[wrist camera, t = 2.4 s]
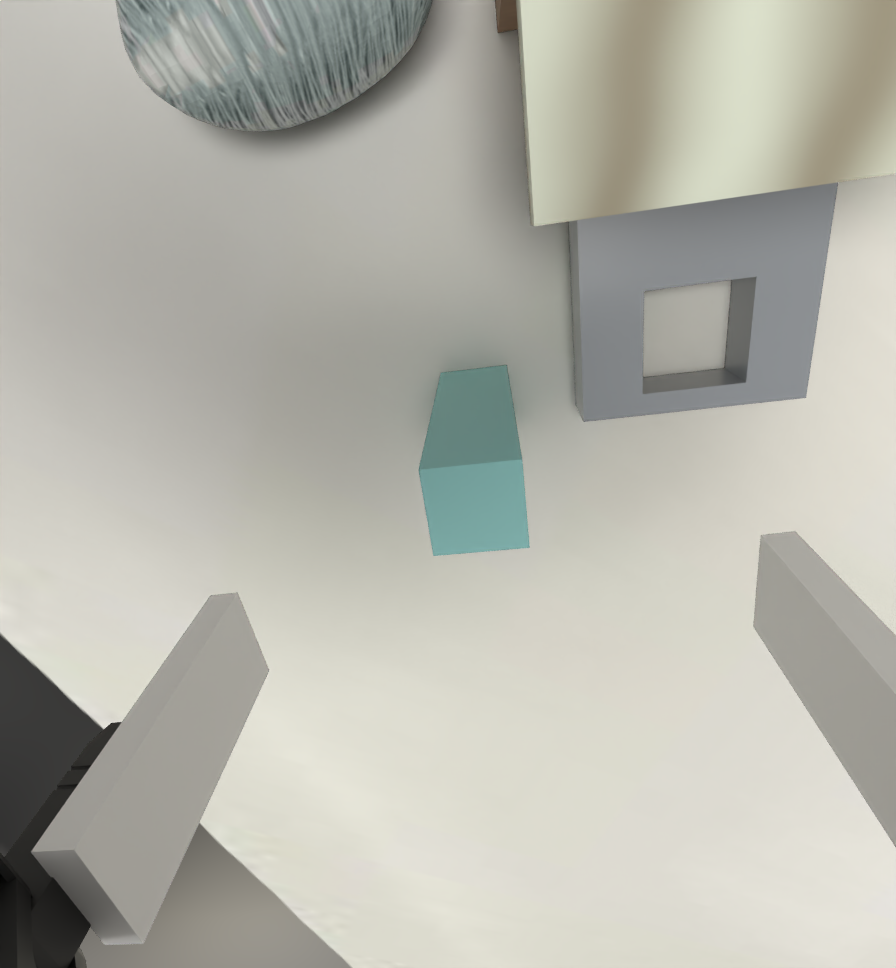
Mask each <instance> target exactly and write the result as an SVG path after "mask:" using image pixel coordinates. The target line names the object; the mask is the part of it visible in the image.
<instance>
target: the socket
mask: <svg viewBox="0 0 896 968" xmlns="http://www.w3.org/2000/svg"><path fill="white" fill-rule="evenodd" d="M837 186H838V182H837V183H830V184H823V185H816V186H809V187H802V188H795V189H789V190H782V191H775V192H768V193H761V194H754V195H747V196H740V197H733V198H727V199H720V200H713V201H706V202H699V203H692V204H685V205H678V206H672V207H665V208H658V209H651V210H644V211H637V212H630V213H623V214H617V215H610V216H603V217H596V218H589V219H582V220H575V221H569V240H570V267H571V293H572V320H573V347H574V374H575V400H576V407H577V409H578V411H579V413H580V415H581V417H582V419H583V421H584V422H586V421H596V420H605V419H614V418H623V417H633V416H642V415H651V414H660V413H670V412H679V411H688V410H697V409H707V408H716V407H725V406H734V405H744V404H753V403H762V402H772V401H781V400H790V399H799V398H806V394H807V387H808V380H809V374H810V367H811V360H812V354H813V347H814V340H815V333H816V327H817V320H818V313H819V307H820V300H821V293H822V287H823V280H824V273H825V266H826V260H827V253H828V246H829V240H830V233H831V226H832V220H833V213H834V206H835V200H836V193H837ZM726 280H732V285H731V297H730V309H729V321H728V334H727V346H726V358H725V368H722V369H714V370H705V371H696V372H687V373H679V374H670V375H661V376H653V377H644V378H643V332H644V291H650V290H657V289H665V288H673V287H680V286H688V285H695V284H703V283H711V282H718V281H726Z"/></svg>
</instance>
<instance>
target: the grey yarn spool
mask: <svg viewBox="0 0 896 968" xmlns="http://www.w3.org/2000/svg"><path fill="white" fill-rule="evenodd" d="M431 4H432V0H116V5H117V12H118V18H119V24H120V29H121V34H122V38H123V42H124V46H125V49H126V51H127V54H128V56H129V58H130V60H131V62H132V64H133V66H134V68H135V70H136V72H137V73H138V75H139V77H140V78H141V79H142V80H143V81H144V82H145V83H146V84H147V85H148V86H149V87H150V89H151V90H152V91H153V92H154V93H155V94H157V95H158V96H159V97H161V98H162V99H164V100H165V101H166V102H168V103H169V104H171V105H172V106H174V107H175V108H177V109H179V110H180V111H182V112H183V113H185V114H187V115H189V116H191V117H193V118H196V119H198V120H200V121H203V122H206V123H209V124H212V125H216V126H219V127H222V128H227V129H235V130H243V131H255V132H256V131H270V130H280V129H285V128H290V127H293V126H297V125H299V124H302V123H305V122H308V121H311V120H313V119H316V118H319V117H322V116H324V115H327V114H329V113H331V112H333V111H335V110H337V109H338V108H340V107H341V106H342V105H344V104H346V103H348V102H350V101H352V100H354V99H356V98H357V97H358V96H359V95H361V94H362V93H363V92H365V91H366V90H367V89H369V88H370V87H371V86H373V85H374V84H376V83H377V82H378V81H380V80H381V79H382V78H383V77H385V76H386V75H387V74H388V73H389V72H390V71H391V70H392V69H393V68H394V67H395V66H396V65H397V64H398V63H399V62H400V60H401V59H402V58H403V57H404V56H405V55H406V53H407V52H408V51H409V50H410V49H411V47H412V46H413V44H414V42H415V41H416V39H417V37H418V35H419V33H420V31H421V30H422V28H423V26H424V24H425V22H426V19H427V16H428V13H429V10H430V7H431Z"/></svg>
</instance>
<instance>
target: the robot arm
mask: <svg viewBox="0 0 896 968" xmlns="http://www.w3.org/2000/svg"><path fill="white" fill-rule="evenodd" d="M753 627H754V628H755V630H756V631H757V633H758V635H759V636H760V638H761V639H762V641H763V642H764V644H765V645H766V647H767V649H768V650H769V652H770V653H771V655H772V656H773V658H774V659H775V661H776V662H777V664H778V666H779V667H780V669H781V670H782V672H783V673H784V675H785V676H786V678H787V680H788V681H789V683H790V684H791V686H792V687H793V689H794V690H795V692H796V693H797V695H798V697H799V698H800V700H801V701H802V703H803V704H804V706H805V707H806V709H807V711H808V712H809V714H810V715H811V717H812V718H813V720H814V721H815V723H816V724H817V726H818V728H819V729H820V731H821V732H822V734H823V735H824V737H825V738H826V740H827V742H828V743H829V745H830V746H831V748H832V749H833V751H834V752H835V754H836V755H837V757H838V759H839V760H840V762H841V763H842V765H843V766H844V768H845V769H846V771H847V772H848V774H849V776H850V777H851V779H852V780H853V782H854V783H855V785H856V786H857V788H858V790H859V791H860V793H861V794H862V796H863V797H864V799H865V800H866V802H867V803H868V805H869V807H870V808H871V810H872V811H873V813H874V814H875V816H876V817H877V819H878V821H879V822H880V824H881V825H882V827H883V828H884V830H885V831H886V833H887V834H888V836H889V838H890V839H891V841H892V842H893V844H894V845H895V847H896V635H895V634H894V633H893V632H892V631H891V630H890V629H889V628H888V627H887V626H886V625H885V624H884V623H883V622H882V621H881V620H880V619H879V618H878V617H877V616H876V615H875V613H874V612H873V611H872V610H871V609H870V608H869V607H868V606H867V605H866V604H865V603H864V602H863V601H862V600H861V599H860V598H859V597H858V596H857V595H856V594H855V593H854V592H853V591H852V590H851V589H850V588H849V587H848V585H847V584H846V583H845V582H844V581H843V580H842V579H841V578H840V577H839V576H838V575H837V574H836V573H835V572H834V571H833V570H832V569H831V568H830V567H829V566H828V565H827V564H826V563H825V562H824V561H823V560H822V559H821V557H820V556H819V555H818V554H817V553H816V552H815V551H814V550H813V549H812V548H811V547H810V546H809V545H808V544H807V543H806V542H805V541H804V540H803V539H802V538H801V537H800V536H799V535H798V534H797V533H796V532H795V531H793V532H784V533H775V534H766V535H761V538H760V550H759V562H758V575H757V587H756V599H755V612H754V624H753ZM268 672H269V669H268V666H267V664H266V661H265V659H264V656H263V654H262V651H261V649H260V647H259V644H258V642H257V639H256V637H255V634H254V632H253V629H252V627H251V624H250V622H249V619H248V617H247V615H246V612H245V610H244V607H243V605H242V602H241V600H240V597H239V595H238V593H229V594H220V595H211V596H210V597H209V598H208V600H207V601H206V603H205V604H204V606H203V607H202V608H201V610H200V611H199V613H198V614H197V616H196V617H195V618H194V620H193V621H192V623H191V624H190V626H189V627H188V628H187V630H186V631H185V633H184V634H183V636H182V637H181V638H180V640H179V641H178V643H177V644H176V646H175V647H174V648H173V650H172V651H171V653H170V654H169V656H168V657H167V658H166V660H165V661H164V663H163V664H162V666H161V667H160V668H159V670H158V671H157V673H156V674H155V676H154V677H153V678H152V680H151V681H150V683H149V684H148V685H147V687H146V688H145V690H144V691H143V693H142V694H141V695H140V697H139V698H138V700H137V701H136V703H135V704H134V705H133V707H132V708H131V710H130V711H129V713H128V714H127V715H126V717H125V718H124V720H123V721H122V722H117V723H111V724H110V725H108V726H107V727H106V728H105V729H104V730H103V731H102V732H101V733H99V734H98V735H97V736H96V737H95V738H94V739H93V740H92V741H90V742H89V743H88V744H87V746H86V747H85V749H84V750H83V751H82V753H81V754H80V755H79V757H78V758H77V760H76V761H75V762H74V763H73V765H72V766H71V767H72V769H71V771H68V772H67V773H66V774H65V776H64V777H63V778H62V780H61V781H60V783H59V784H58V785H57V786H58V788H57V790H54V791H53V792H52V794H51V795H50V796H49V797H48V799H47V800H46V802H45V803H44V804H43V806H42V807H41V808H40V810H39V811H38V812H37V814H36V815H35V816H34V818H33V819H32V821H31V822H30V823H29V825H28V826H27V828H26V829H25V830H24V832H23V833H22V834H21V836H20V837H19V838H18V840H17V841H16V842H15V844H14V845H13V846H12V848H11V849H10V851H9V852H8V853H7V855H6V856H5V857H3V856H2V854H1V853H0V968H86V960H85V957H84V955H83V953H82V950H81V949H80V948H79V947H80V944H81V943H82V941H83V939H84V937H85V935H86V934H87V932H88V930H89V928H90V927H91V928H92V929H93V931H94V932H95V933H96V934H97V936H98V937H99V938H100V940H101V941H102V942H103V943H104V945H114V944H143V943H144V941H145V939H146V937H147V935H148V933H149V930H150V928H151V926H152V924H153V922H154V920H155V917H156V915H157V913H158V911H159V909H160V906H161V904H162V902H163V900H164V898H165V896H166V894H167V891H168V889H169V887H170V884H171V883H172V880H173V878H174V876H175V874H176V872H177V870H178V868H179V865H180V863H181V861H182V859H183V857H184V855H185V852H186V850H187V848H188V846H189V844H190V842H191V839H192V837H193V835H194V833H195V831H196V829H197V826H198V824H199V822H200V820H201V818H202V815H203V813H204V811H205V809H206V807H207V805H208V802H209V800H210V798H211V796H212V794H213V792H214V789H215V787H216V785H217V783H218V781H219V779H220V776H221V774H222V772H223V770H224V768H225V766H226V763H227V761H228V759H229V757H230V755H231V753H232V750H233V748H234V746H235V744H236V742H237V740H238V737H239V735H240V733H241V731H242V729H243V727H244V724H245V722H246V720H247V718H248V716H249V713H250V711H251V709H252V707H253V705H254V703H255V700H256V698H257V696H258V694H259V692H260V690H261V687H262V685H263V683H264V681H265V679H266V677H267V674H268Z"/></svg>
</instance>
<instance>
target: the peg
mask: <svg viewBox="0 0 896 968" xmlns="http://www.w3.org/2000/svg"><path fill="white" fill-rule="evenodd" d="M419 475H420V481H421V486H422V492H423V498H424V504H425V509H426V515H427V521H428V527H429V532H430V538H431V544H432V549H433V555H434V556H438V555H450V554H461V553H473V552H485V551H496V550H508V549H520V548H530V547H529V535H528V523H527V511H526V499H525V488H524V476H523V464H522V456H521V450H520V443H519V437H518V431H517V425H516V419H515V413H514V407H513V401H512V395H511V389H510V383H509V377H508V370H507V365H502V366H494V367H486V368H477V369H469V370H461V371H452V372H444V373H441V375H440V379H439V384H438V388H437V392H436V397H435V401H434V405H433V410H432V414H431V418H430V423H429V427H428V431H427V436H426V440H425V444H424V449H423V453H422V457H421V462H420V466H419Z"/></svg>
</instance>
